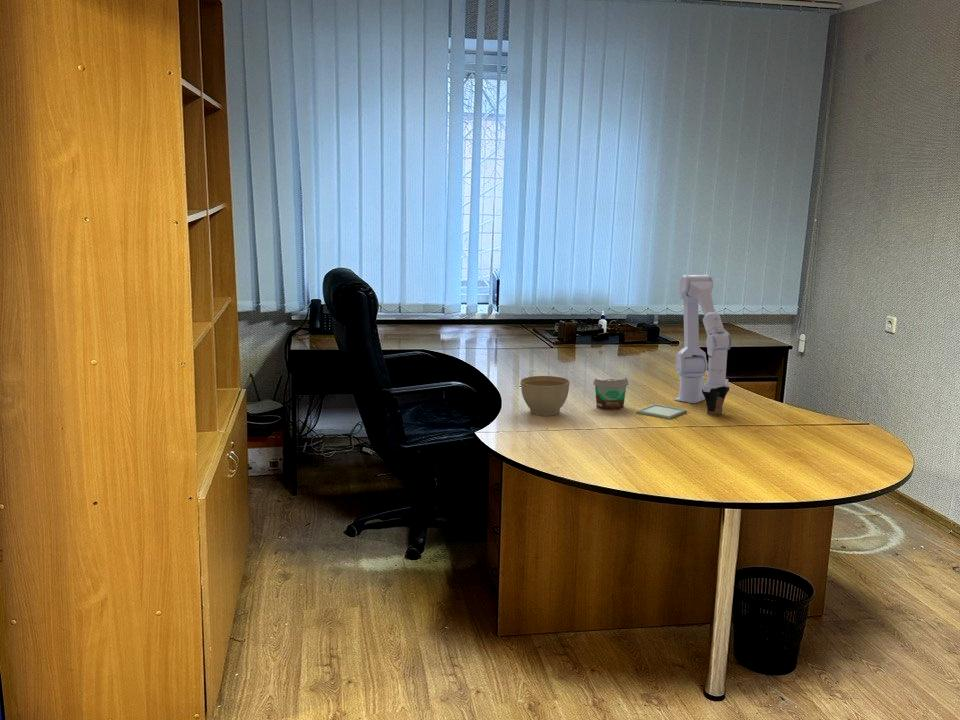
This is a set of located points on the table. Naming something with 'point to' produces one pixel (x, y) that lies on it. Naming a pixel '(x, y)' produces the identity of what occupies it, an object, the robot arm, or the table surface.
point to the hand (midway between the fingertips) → (714, 409)
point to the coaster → (661, 411)
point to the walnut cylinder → (717, 408)
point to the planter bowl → (545, 394)
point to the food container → (610, 393)
